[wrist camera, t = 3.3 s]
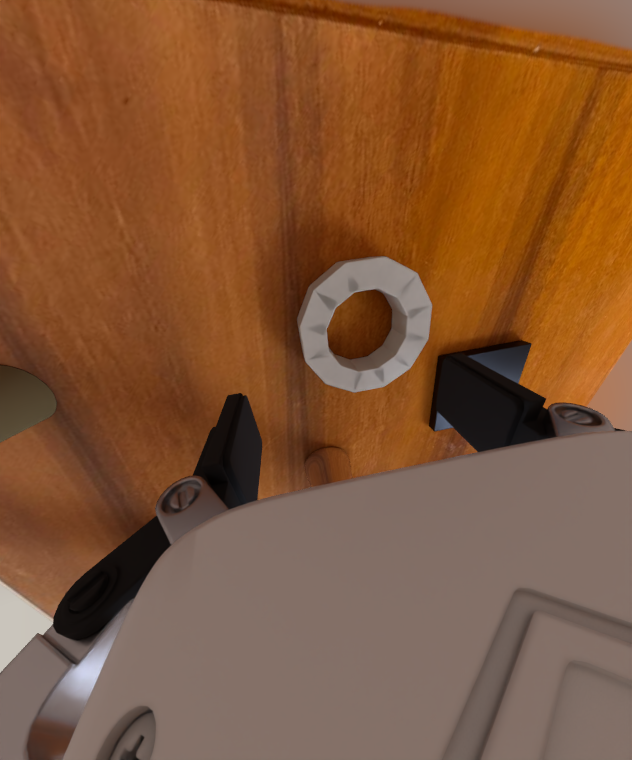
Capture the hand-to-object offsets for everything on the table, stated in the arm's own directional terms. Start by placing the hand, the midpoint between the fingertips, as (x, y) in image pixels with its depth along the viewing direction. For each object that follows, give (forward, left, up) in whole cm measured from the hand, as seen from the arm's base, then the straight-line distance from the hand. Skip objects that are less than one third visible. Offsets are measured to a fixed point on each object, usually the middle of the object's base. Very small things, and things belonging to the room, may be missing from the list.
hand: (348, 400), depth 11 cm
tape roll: (+4, 0, -13) cm, 13 cm away
